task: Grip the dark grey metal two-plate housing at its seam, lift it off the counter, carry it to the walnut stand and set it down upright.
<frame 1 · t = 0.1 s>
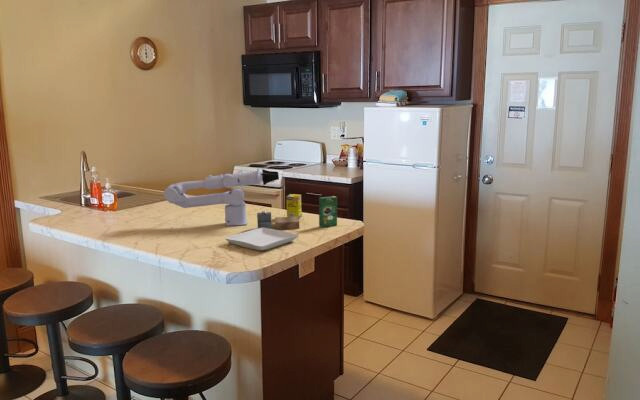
hand: (278, 175, 231), 22 cm above the table, tool horizontal, fingers open, 7 cm apart
housing: (264, 229, 224), on the table
stand: (287, 226, 227), on the table
coffee box: (328, 226, 226), on the table
salad plate: (262, 244, 202), on the table
supplement box: (294, 218, 242), on the table
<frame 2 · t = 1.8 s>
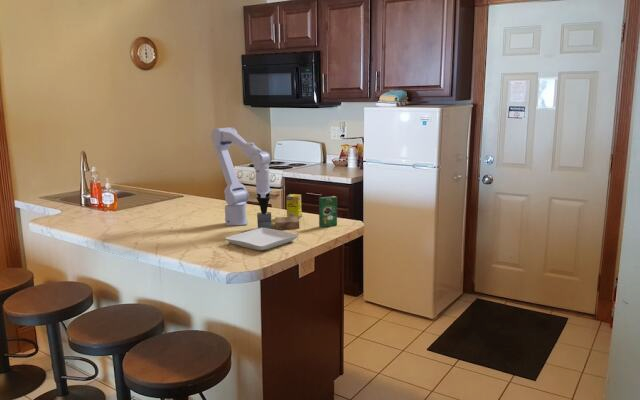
hand: (264, 211, 222), 8 cm above the table, tool pointing down, fingers open, 7 cm apart
nothing on the table moved.
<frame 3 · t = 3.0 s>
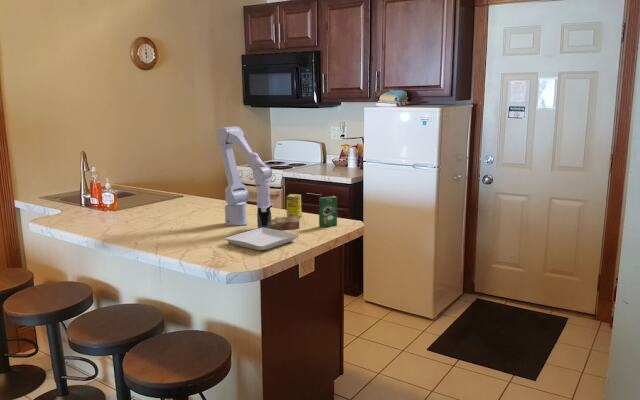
hand: (264, 224, 223), 2 cm above the table, tool pointing down, fingers closed on housing, 4 cm apart
housing: (264, 228, 223), on the table, touching gripper
everything else where it was.
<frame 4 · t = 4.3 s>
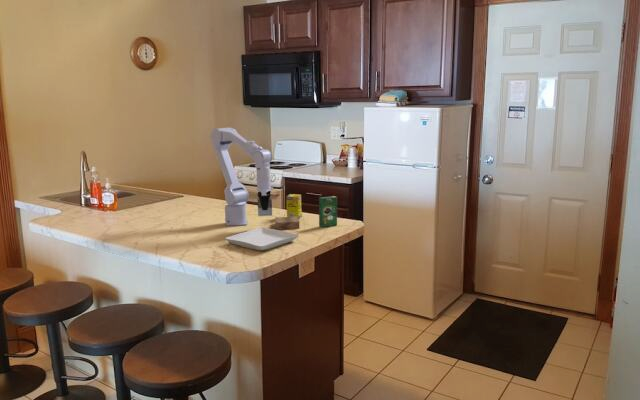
hand: (264, 208, 222), 9 cm above the table, tool pointing down, fingers closed on housing, 4 cm apart
housing: (265, 214, 222), point 6 cm above the table, touching gripper
everything else where it was.
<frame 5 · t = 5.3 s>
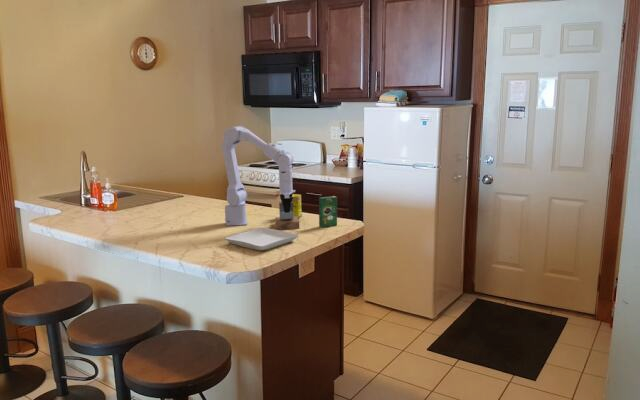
hand: (286, 211, 226), 7 cm above the table, tool pointing down, fingers closed on housing, 4 cm apart
housing: (286, 218, 227), point 4 cm above the table, touching gripper
everything else where it was.
when the fingers open (6 cm above the table, at t = 5.8 s): housing stays where it is, resting on stand.
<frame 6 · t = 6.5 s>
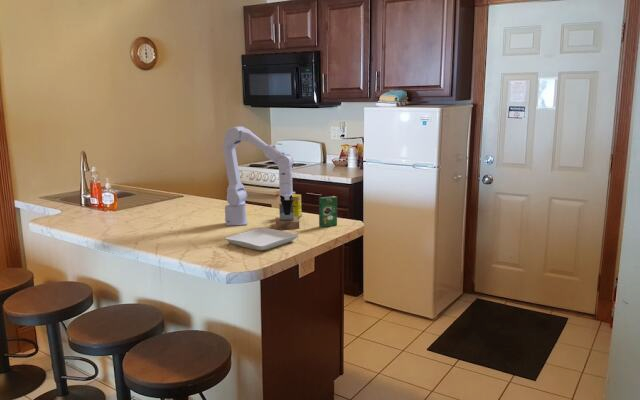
hand: (286, 212, 226), 6 cm above the table, tool pointing down, fingers open, 7 cm apart
housing: (286, 219, 227), point 3 cm above the table, touching stand
everything else where it was.
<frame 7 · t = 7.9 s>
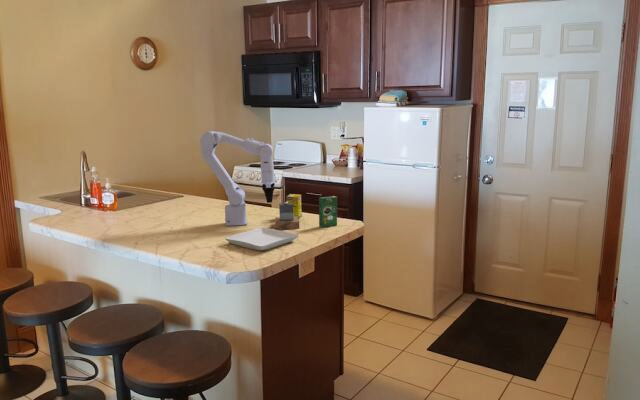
hand: (269, 200, 231), 10 cm above the table, tool pointing down, fingers open, 7 cm apart
nothing on the table moved.
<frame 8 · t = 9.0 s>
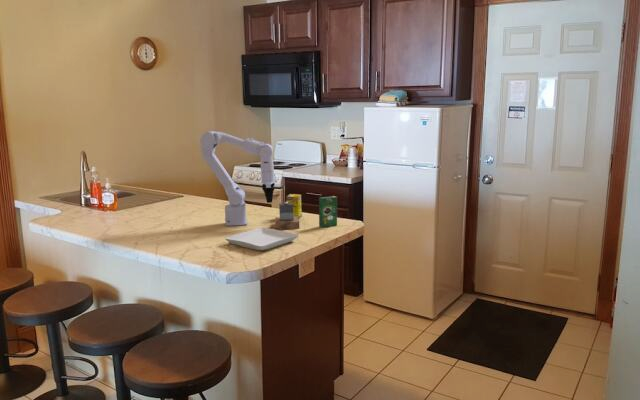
hand: (269, 200, 231), 10 cm above the table, tool pointing down, fingers open, 7 cm apart
nothing on the table moved.
at the end: housing 0.2 cm off-centre on the stand, point 3.0 cm above the stand's base; housing tilted 0°; the gripper is holding nothing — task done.
